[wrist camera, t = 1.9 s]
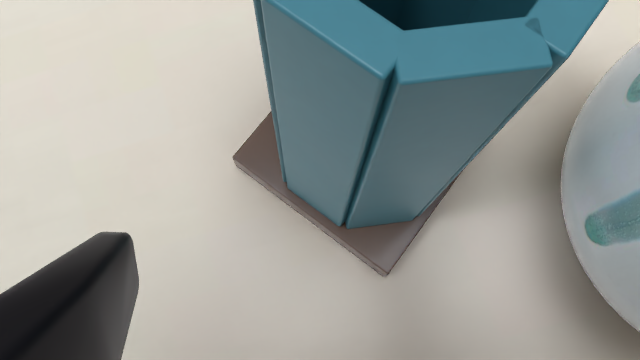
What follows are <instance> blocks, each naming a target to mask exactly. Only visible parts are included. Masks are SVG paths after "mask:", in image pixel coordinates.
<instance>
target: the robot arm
mask: <svg viewBox="0 0 640 360" xmlns="http://www.w3.org/2000/svg"><path fill="white" fill-rule="evenodd" d="M138 288H139V276H138V270H137V264H136V258H135V252H134V245H133V240H132V238H131V236H130V235H129V234H128V233H122V232H101V233H98V234H96V235H95V236H93V237H92V238H90V239H88V240H87V241H85V242H84V243H82V244H80V245H79V246H77V247H75V248H74V249H72V250H71V251H69V252H67V253H66V254H64V255H63V256H61V257H59V258H58V259H56V260H55V261H53V262H51V263H50V264H48V265H47V266H45V267H43V268H42V269H40V270H38V271H37V272H35V273H34V274H32V275H30V276H29V277H27V278H26V279H24V280H22V281H21V282H19V283H18V284H16V285H14V286H13V287H11V288H10V289H8V290H6V291H5V292H3V293H2V294H0V360H121V357H122V353H123V349H124V345H125V341H126V337H127V334H128V330H129V326H130V322H131V318H132V314H133V310H134V306H135V302H136V298H137V294H138Z"/></svg>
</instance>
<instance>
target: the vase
mask: <svg viewBox="0 0 640 360" xmlns="http://www.w3.org/2000/svg"><path fill="white" fill-rule="evenodd" d="M561 202H562V211H563V216H564V220H565V225H566V229H567V232H568V235H569V238H570V241H571V244H572V246H573V248H574V251H575V253H576V256H577V258H578V260H579V262H580V263H581V265H582V267H583V269H584V271H585V273H586V274H587V276H588V277H589V279H590V280H591V282H592V284H593V285H594V287H595V288H596V289H597V290H598V292H599V293H600V294H601V296H602V297H603V298H604V299H605V301H606V302H607V303H608V304H609V305H610V306H611V307H612V308H613V309H614V310H615V311H616V313H617V314H619V315H620V316H621V317H622V318H623V319H624V320H625V321H626V322H627V323H628V324H630V325H631V326H632V327H633V328H635V329H636V330H637V331H639V332H640V42H638V43H637V44H636V45H635V46H634V47H632V48H631V49H630V50H629V51H628V52H627V53H626V54H625V55H623V56H622V57H621V58H620V59H619V60H618V61H617V62H616V63H615V64H614V65H613V66H612V67H611V68H610V69H609V70H608V71H607V72H606V74H605V75H604V76H603V78H602V79H601V80H600V81H599V83H598V84H597V85H596V87H595V88H594V89H593V91H592V92H591V93H590V95H589V96H588V98H587V100H586V102H585V103H584V105H583V107H582V108H581V110H580V112H579V114H578V116H577V118H576V120H575V122H574V124H573V127H572V129H571V132H570V135H569V138H568V141H567V144H566V149H565V153H564V158H563V163H562V170H561Z"/></svg>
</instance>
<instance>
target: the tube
mask: <svg viewBox="0 0 640 360" xmlns="http://www.w3.org/2000/svg"><path fill="white" fill-rule="evenodd" d="M608 1H609V0H253V2H254V8H255V14H256V20H257V26H258V32H259V38H260V45H261V51H262V57H263V63H264V69H265V75H266V81H267V87H268V93H269V99H270V105H271V111H272V117H273V123H274V129H275V135H276V141H277V147H278V153H279V159H280V165H281V171H282V177H283V181H284V182H287V187H288V189H289V190H291V191H292V192H293V193H295V194H296V195H297V196H299V197H300V198H301V199H303V200H304V201H305V202H307V203H308V204H309V205H311V206H312V207H313V208H315V209H316V210H317V211H319V212H320V213H321V214H323V215H324V216H325V217H327V218H328V219H329V220H331V221H332V222H333V223H335V224H336V225H337V226H342V224H343V223H344V222H345V223H346V228H347V229H352V228H359V227H367V226H375V225H382V224H390V223H397V222H405V221H411V220H413V219H414V218H415V217H416V216H420V215H421V214H422V213H423V212H424V211H425V210H426V209H427V207H428V206H429V205H430V204H431V203H432V202H433V201H434V200H435V199H436V198H437V197H438V196H439V195H440V194H441V193H442V191H443V190H444V189H445V188H446V187H447V186H448V185H449V184H450V183H451V182H452V181H453V180H454V179H455V178H456V177H457V176H458V174H459V173H460V172H461V171H462V170H463V169H464V168H465V167H466V166H467V165H468V164H469V163H470V162H471V161H472V160H473V159H474V157H475V156H476V155H477V154H478V153H479V152H480V151H481V150H482V149H483V148H484V147H485V146H486V145H487V144H488V143H489V142H490V140H491V139H492V138H493V137H494V136H495V135H496V134H497V133H498V132H499V131H500V130H501V129H502V128H503V127H504V126H505V125H506V123H507V122H508V121H509V120H510V119H511V118H512V117H513V116H514V115H515V114H516V113H517V112H518V111H519V110H520V109H521V108H522V106H523V105H524V104H525V103H526V102H527V101H528V100H529V99H530V98H531V97H532V96H533V95H534V94H535V93H536V92H537V91H538V89H539V88H540V87H541V86H542V85H543V84H544V83H545V82H546V81H547V80H548V79H549V78H550V77H551V76H552V75H553V74H554V72H555V71H556V70H557V69H558V68H559V67H560V66H561V65H562V64H563V63H564V62H565V61H566V60H567V59H568V58H569V56H570V55H571V53H572V52H573V50H574V49H575V48H576V46H577V45H578V43H579V42H580V41H581V39H582V38H583V36H584V35H585V34H586V32H587V31H588V29H589V28H590V26H591V25H592V24H593V22H594V21H595V19H596V18H597V17H598V15H599V14H600V12H601V11H602V9H603V8H604V7H605V5H606V4H607V2H608Z"/></svg>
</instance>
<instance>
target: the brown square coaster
mask: <svg viewBox="0 0 640 360" xmlns="http://www.w3.org/2000/svg"><path fill="white" fill-rule="evenodd" d="M233 160H234V162H235V164H236V166H237V167H239V168H240V169H241V170H243V171H244V172H245V173H247V174H248V175H249V176H251V177H252V178H253V179H255V180H256V181H257V182H259V183H260V184H261V185H263V186H264V187H265V188H267V189H268V190H269V191H271V192H272V193H273V194H275V195H276V196H277V197H279V198H280V199H281V200H283V201H284V202H285V203H287V204H288V205H289V206H291V207H292V208H293V209H295V210H296V211H297V212H299V213H300V214H301V215H303V216H304V217H305V218H307V219H308V220H309V221H311V222H312V223H313V224H315V225H316V226H317V227H319V228H320V229H321V230H323V231H324V232H325V233H326V234H328V235H329V236H330V237H332V238H333V239H334V240H336V241H337V242H338V243H340V244H341V245H342V246H344V247H345V248H346V249H348V250H349V251H350V252H352V253H353V254H354V255H356V256H357V257H358V258H360V259H361V260H362V261H364V262H365V263H366V264H368V265H369V266H370V267H372V268H373V269H374V270H376V271H377V272H378V273H380V274H381V275H382V276H386V275H387V274H388V273H389V272H390V271H391V269H392V268H393V267H394V265H395V264H396V262H397V261H398V260H399V258H400V257H401V255H402V254H403V253H404V251H405V250H406V249H407V247H408V246H409V244H410V243H411V242H412V240H413V239H414V237H415V236H416V235H417V233H418V232H419V230H420V229H421V228H422V226H423V225H424V223H425V222H426V221H427V219H428V218H429V217H430V215H431V214H432V212H433V211H434V210H435V208H436V207H437V205H438V204H439V203H440V201H441V200H442V198H443V197H444V196H445V194H446V193H447V192H448V190H449V189H450V187H451V186H452V185H453V183H454V182H455V180H456V179H457V178H458V176H459V175H460V173H461V172H462V171H463V170H462V171H461V172H460V173H459V174H458V176H457V177H456V178H455V179H454V180H453V181H452V182H451V183H450V184H449V185H448V186H447V187H446V188H445V189H444V190H443V191H442V193H441V194H440V195H439V196H438V197H437V198H436V199H435V200H434V201H433V202H432V203H431V204H430V205H429V206H428V207H427V209H426V210H425V211H424V212H423V213H422V214H421V215H420V216H416V217H415V218H414V219H413V220H411V221H405V222H397V223H390V224H382V225H375V226H367V227H359V228H352V229H347V228H346V223H345V222H344V223H343V224H342V226H337V225H336V224H335V223H333V222H332V221H331V220H329V219H328V218H327V217H325V216H324V215H323V214H321V213H320V212H319V211H317V210H316V209H315V208H313V207H312V206H311V205H309V204H308V203H307V202H305V201H304V200H303V199H301V198H300V197H299V196H297V195H296V194H295V193H293V192H292V191H291V190H289V189H288V187H287V182H284V181H283V177H282V171H281V165H280V159H279V153H278V147H277V141H276V135H275V129H274V123H273V117H272V111H271V112H270V113H269V114H268V116H267V117H266V118H265V119H264V120H263V122H262V123H261V124H260V125H259V126H258V127H257V129H256V130H255V131H254V132H253V133H252V135H251V136H250V137H249V138H248V139H247V140H246V142H245V143H244V144H243V145H242V146H241V148H240V149H239V150H238V151H237V152H236V153H235V155H234V156H233Z"/></svg>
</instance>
